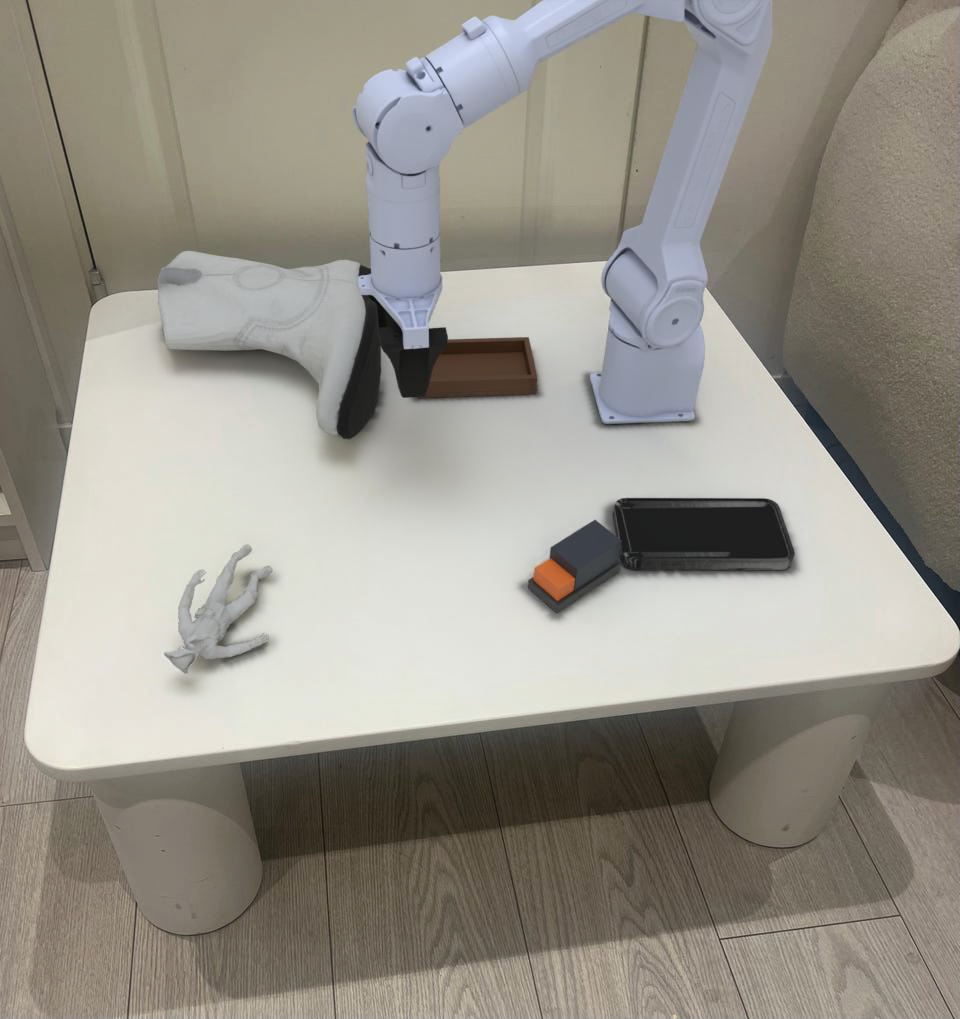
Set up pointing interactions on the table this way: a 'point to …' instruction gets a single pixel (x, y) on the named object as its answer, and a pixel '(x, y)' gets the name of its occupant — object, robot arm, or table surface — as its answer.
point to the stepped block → (576, 566)
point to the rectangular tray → (484, 368)
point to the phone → (702, 534)
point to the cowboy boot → (283, 324)
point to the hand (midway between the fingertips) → (408, 368)
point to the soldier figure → (215, 616)
